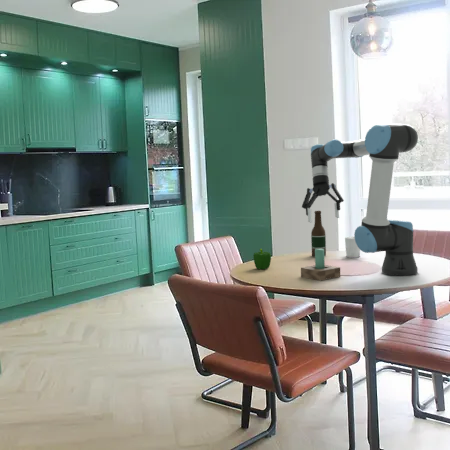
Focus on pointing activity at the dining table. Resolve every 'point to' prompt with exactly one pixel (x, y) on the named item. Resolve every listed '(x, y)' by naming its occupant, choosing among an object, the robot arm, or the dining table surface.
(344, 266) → the dining table surface
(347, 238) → the white cup
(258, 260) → the bell pepper
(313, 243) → the beer bottle
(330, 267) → the socket block
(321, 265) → the peg
